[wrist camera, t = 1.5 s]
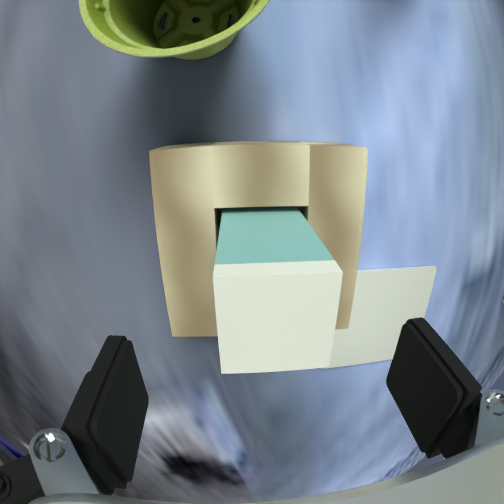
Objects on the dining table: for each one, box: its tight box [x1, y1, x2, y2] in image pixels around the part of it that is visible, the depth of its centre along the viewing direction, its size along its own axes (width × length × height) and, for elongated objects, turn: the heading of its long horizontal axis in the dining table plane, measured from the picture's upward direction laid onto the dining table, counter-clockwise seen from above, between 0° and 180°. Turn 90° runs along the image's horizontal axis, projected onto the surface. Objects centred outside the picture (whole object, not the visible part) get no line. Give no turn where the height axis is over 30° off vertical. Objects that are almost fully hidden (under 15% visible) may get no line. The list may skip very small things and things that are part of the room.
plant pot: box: [79, 0, 270, 60], centre depth 13 cm, size 9×9×9 cm
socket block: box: [149, 141, 368, 337], centre depth 21 cm, size 12×12×5 cm
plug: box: [213, 206, 343, 374], centre depth 17 cm, size 4×4×12 cm
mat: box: [322, 265, 437, 369], centre depth 26 cm, size 10×10×1 cm
